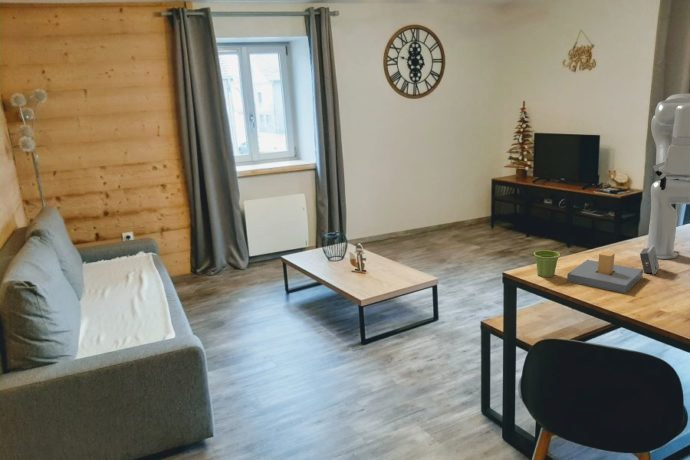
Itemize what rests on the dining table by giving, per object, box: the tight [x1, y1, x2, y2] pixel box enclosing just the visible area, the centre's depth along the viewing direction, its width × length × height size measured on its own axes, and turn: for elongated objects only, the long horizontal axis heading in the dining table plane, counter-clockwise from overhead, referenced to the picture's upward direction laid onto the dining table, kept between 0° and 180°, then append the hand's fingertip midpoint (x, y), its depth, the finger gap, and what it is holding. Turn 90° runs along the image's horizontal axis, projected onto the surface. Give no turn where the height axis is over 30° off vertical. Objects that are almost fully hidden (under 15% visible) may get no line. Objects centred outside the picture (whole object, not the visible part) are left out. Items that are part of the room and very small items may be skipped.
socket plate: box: [566, 259, 644, 294], centre depth 193 cm, size 20×20×3 cm
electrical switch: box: [639, 246, 660, 276], centre depth 199 cm, size 9×5×9 cm, turn 141°
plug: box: [597, 251, 615, 275], centre depth 192 cm, size 4×4×10 cm
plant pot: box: [533, 249, 561, 278], centre depth 199 cm, size 9×9×9 cm
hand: (678, 190), depth 181 cm, fingers open, 9 cm apart
